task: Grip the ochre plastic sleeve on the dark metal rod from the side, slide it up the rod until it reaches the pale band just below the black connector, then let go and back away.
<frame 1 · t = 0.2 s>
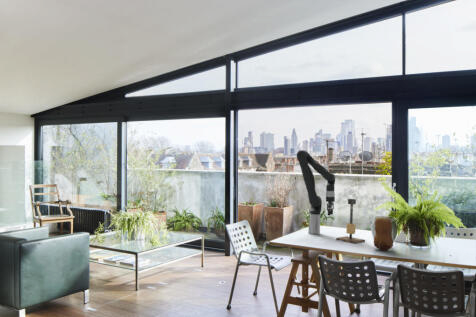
hand: (330, 214, 365), 18 cm above the table, tool pointing down, fingers open, 8 cm apart
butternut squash: (382, 250, 311), on the table
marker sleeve: (350, 228, 344), point 10 cm above the table, slide at 0.0 cm
cable organizer: (403, 241, 348), on the table
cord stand: (350, 240, 344), on the table
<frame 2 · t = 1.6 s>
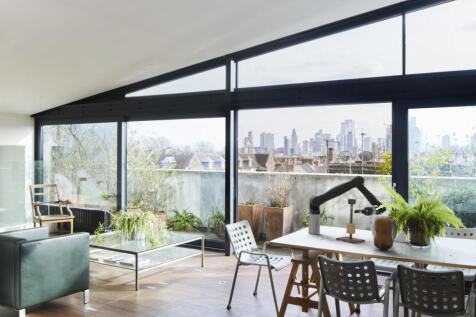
hand: (359, 212, 351), 22 cm above the table, tool horizontal, fingers open, 8 cm apart
nothing on the table moved.
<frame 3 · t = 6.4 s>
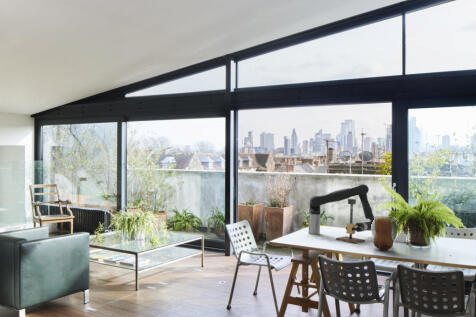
hand: (349, 228, 342), 10 cm above the table, tool horizontal, fingers closed on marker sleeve, 5 cm apart
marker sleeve: (350, 228, 344), point 10 cm above the table, slide at 0.0 cm, touching gripper
everything else where it was.
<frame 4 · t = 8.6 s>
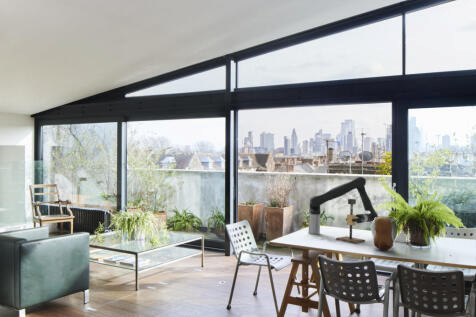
hand: (349, 220, 342), 17 cm above the table, tool horizontal, fingers closed on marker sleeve, 5 cm apart
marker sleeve: (351, 219, 344), point 17 cm above the table, slide at 7.2 cm, touching gripper
everything else where it was.
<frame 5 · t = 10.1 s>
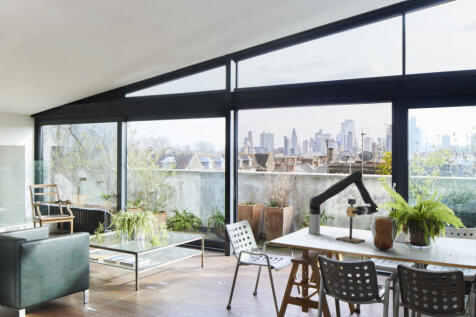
hand: (349, 211, 342), 24 cm above the table, tool horizontal, fingers closed on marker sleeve, 5 cm apart
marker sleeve: (351, 211, 343), point 24 cm above the table, slide at 13.7 cm, touching gripper
everything else where it was.
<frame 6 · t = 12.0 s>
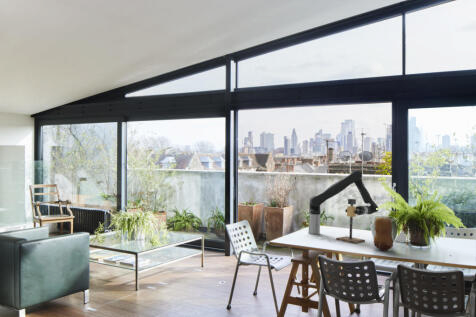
hand: (350, 211, 342), 24 cm above the table, tool horizontal, fingers open, 8 cm apart
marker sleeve: (351, 211, 343), point 24 cm above the table, slide at 13.9 cm
everything else where it was.
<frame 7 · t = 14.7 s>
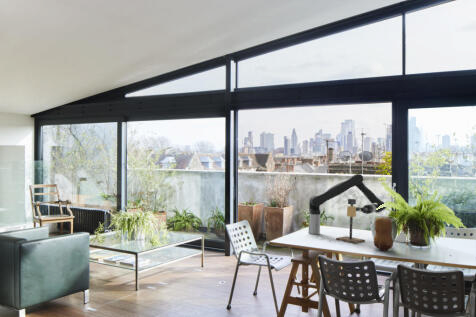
hand: (358, 210, 351), 24 cm above the table, tool horizontal, fingers open, 8 cm apart
nothing on the table moved.
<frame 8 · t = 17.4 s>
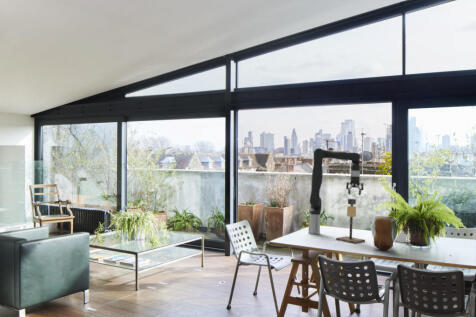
hand: (354, 194, 363), 36 cm above the table, tool pointing down, fingers open, 8 cm apart
nothing on the table moved.
at the end: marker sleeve slide at 13.9 cm; the gripper is holding nothing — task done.
